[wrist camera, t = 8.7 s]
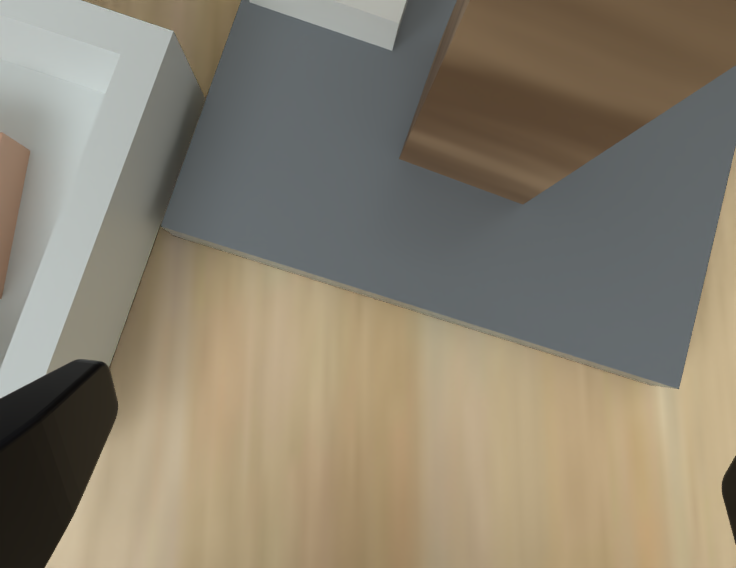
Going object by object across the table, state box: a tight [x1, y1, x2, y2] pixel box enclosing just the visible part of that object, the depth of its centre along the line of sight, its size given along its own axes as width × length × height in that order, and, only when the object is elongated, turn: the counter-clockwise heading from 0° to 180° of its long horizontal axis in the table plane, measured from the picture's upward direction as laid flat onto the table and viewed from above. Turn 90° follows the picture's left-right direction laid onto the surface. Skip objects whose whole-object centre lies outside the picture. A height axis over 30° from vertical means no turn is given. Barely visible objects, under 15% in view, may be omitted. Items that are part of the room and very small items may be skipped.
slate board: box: [161, 0, 736, 389], centre depth 18 cm, size 12×16×2 cm
